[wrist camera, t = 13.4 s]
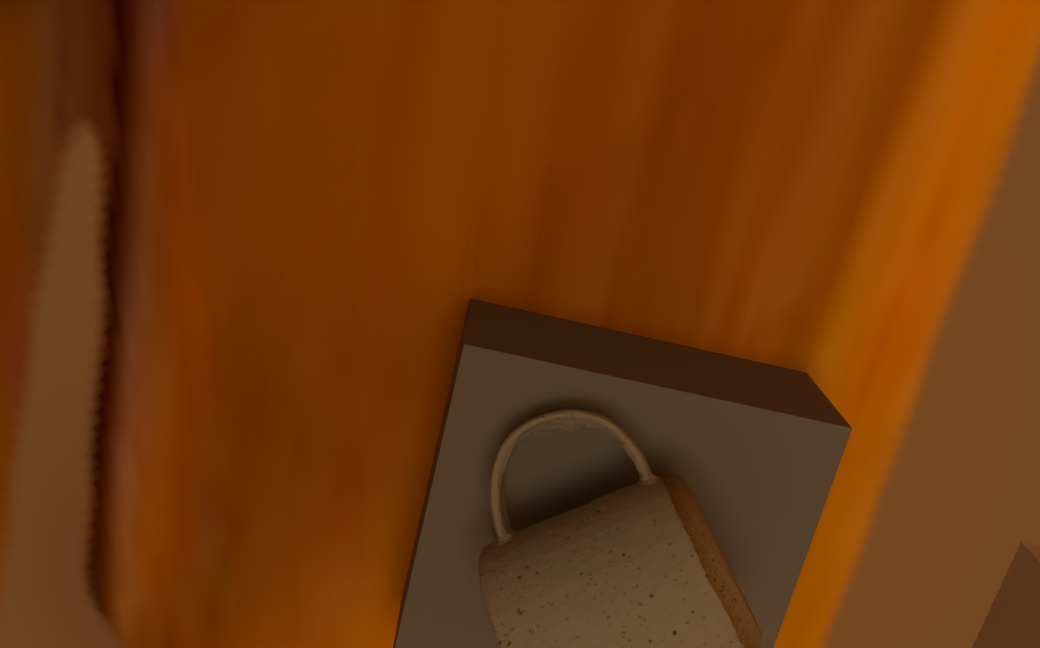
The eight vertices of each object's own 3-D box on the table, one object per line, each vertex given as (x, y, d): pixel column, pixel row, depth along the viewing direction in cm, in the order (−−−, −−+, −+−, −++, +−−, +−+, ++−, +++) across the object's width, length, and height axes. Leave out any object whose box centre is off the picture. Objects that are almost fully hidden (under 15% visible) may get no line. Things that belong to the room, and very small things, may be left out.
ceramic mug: (746, 581, 40) (798, 707, 32) (563, 665, 41) (573, 805, 33) (629, 358, 37) (657, 439, 30) (436, 453, 38) (417, 555, 31)
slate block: (401, 599, 47) (386, 682, 41) (470, 299, 42) (464, 344, 37) (709, 660, 48) (736, 748, 42) (806, 373, 44) (851, 428, 38)
